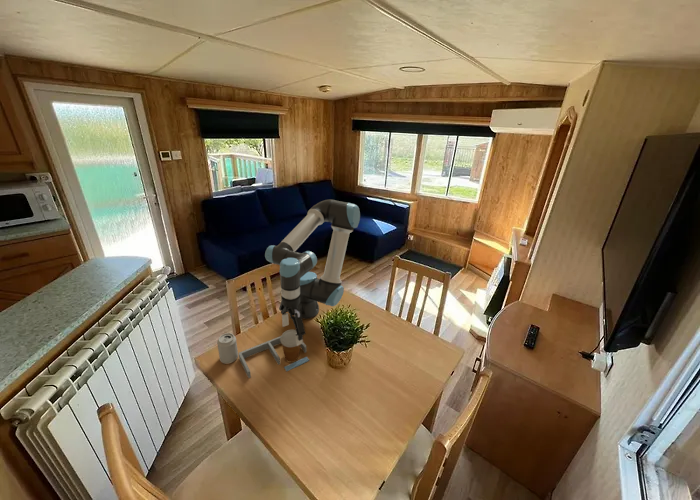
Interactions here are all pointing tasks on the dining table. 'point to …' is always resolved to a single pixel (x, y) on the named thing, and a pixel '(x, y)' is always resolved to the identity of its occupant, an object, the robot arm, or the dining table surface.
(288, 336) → the disposable coffee cup
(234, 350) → the can
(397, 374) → the dining table surface
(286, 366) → the blue rectangular block
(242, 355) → the comb rack
